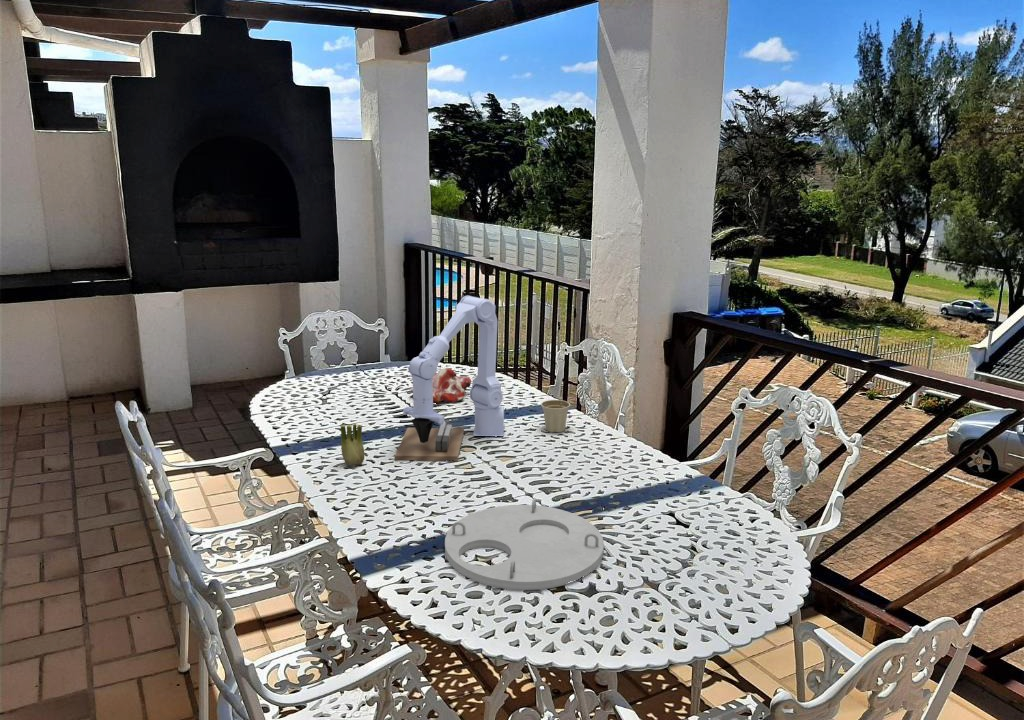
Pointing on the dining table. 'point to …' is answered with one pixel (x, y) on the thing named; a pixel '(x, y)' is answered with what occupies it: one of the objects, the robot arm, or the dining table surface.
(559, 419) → the flower pot
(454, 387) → the meat
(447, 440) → the fixed tong arm
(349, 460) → the fennel bulb
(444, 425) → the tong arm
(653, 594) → the dining table surface
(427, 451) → the walnut board
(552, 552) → the slab
